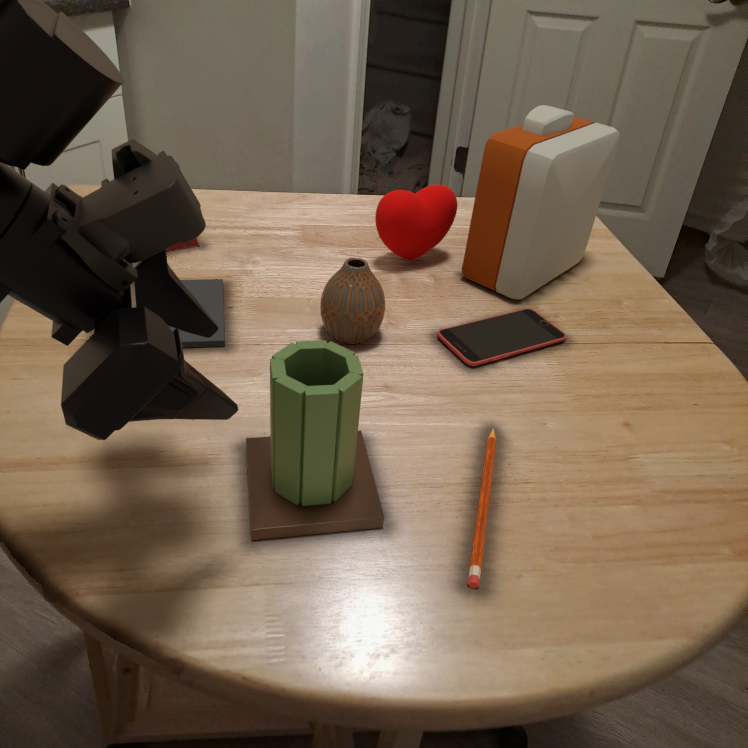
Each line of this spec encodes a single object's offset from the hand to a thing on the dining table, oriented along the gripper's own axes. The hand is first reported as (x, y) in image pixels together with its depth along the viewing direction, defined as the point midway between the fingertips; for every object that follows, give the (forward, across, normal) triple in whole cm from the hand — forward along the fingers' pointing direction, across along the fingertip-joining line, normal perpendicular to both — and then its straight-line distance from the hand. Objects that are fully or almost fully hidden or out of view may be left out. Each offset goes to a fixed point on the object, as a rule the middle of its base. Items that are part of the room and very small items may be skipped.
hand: (223, 369), depth 44 cm
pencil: (+23, -5, -5) cm, 24 cm away
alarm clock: (+40, +32, -22) cm, 56 cm away
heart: (+30, +37, -11) cm, 49 cm away
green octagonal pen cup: (+13, 0, +4) cm, 13 cm away
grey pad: (+7, +28, +11) cm, 31 cm away
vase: (+21, +21, -2) cm, 29 cm away
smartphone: (+32, +17, -14) cm, 39 cm away
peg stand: (+14, 0, +4) cm, 14 cm away
